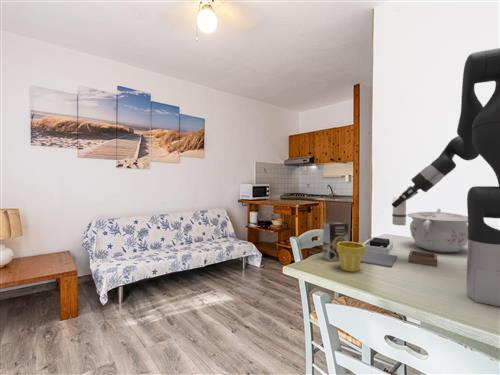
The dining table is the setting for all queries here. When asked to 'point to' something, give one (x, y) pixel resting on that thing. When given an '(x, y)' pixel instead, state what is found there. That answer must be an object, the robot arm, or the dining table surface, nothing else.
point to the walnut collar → (423, 258)
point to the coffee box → (333, 239)
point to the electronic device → (379, 242)
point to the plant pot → (350, 255)
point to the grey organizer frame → (377, 249)
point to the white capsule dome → (399, 213)
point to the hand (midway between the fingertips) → (394, 205)
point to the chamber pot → (439, 231)
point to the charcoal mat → (378, 259)
